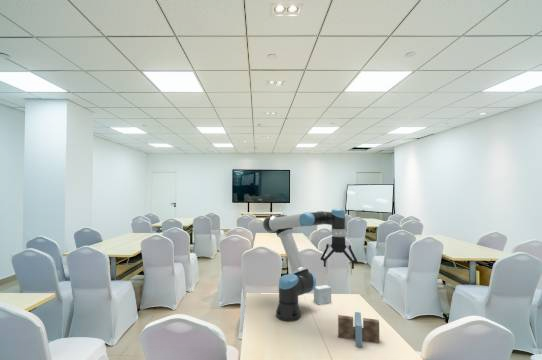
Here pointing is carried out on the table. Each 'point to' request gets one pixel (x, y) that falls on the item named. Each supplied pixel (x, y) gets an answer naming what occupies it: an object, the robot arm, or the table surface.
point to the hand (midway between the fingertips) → (338, 273)
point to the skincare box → (322, 294)
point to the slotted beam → (368, 331)
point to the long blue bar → (358, 329)
